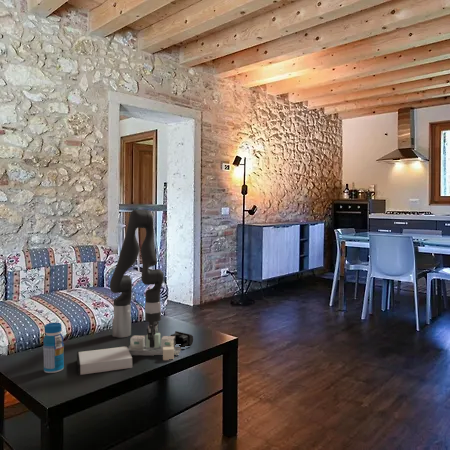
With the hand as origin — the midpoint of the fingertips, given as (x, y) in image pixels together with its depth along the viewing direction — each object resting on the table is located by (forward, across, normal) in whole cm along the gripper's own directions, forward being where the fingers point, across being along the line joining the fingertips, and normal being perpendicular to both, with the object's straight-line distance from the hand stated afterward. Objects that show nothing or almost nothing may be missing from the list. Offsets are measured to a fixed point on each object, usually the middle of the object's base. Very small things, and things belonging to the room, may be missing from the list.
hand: (153, 345), depth 203 cm
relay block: (+4, +7, +9) cm, 12 cm away
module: (0, 0, 0) cm, 0 cm away
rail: (+4, 0, 0) cm, 4 cm away
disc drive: (+4, +16, -19) cm, 25 cm away
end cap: (+4, -11, +12) cm, 17 cm away
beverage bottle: (+4, +24, -38) cm, 45 cm away
